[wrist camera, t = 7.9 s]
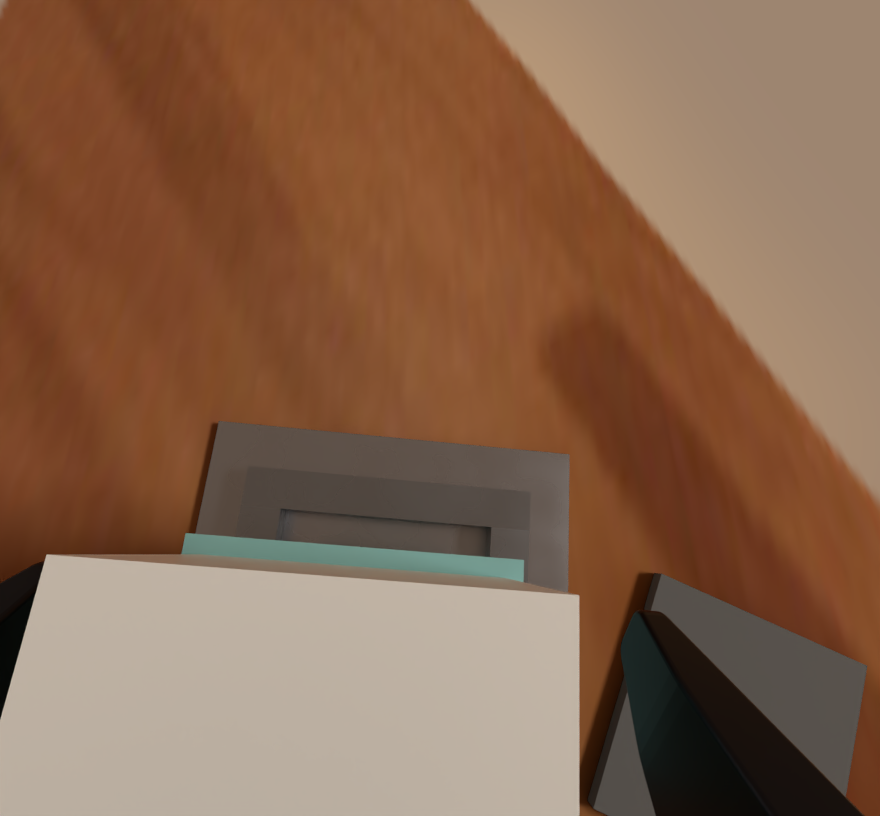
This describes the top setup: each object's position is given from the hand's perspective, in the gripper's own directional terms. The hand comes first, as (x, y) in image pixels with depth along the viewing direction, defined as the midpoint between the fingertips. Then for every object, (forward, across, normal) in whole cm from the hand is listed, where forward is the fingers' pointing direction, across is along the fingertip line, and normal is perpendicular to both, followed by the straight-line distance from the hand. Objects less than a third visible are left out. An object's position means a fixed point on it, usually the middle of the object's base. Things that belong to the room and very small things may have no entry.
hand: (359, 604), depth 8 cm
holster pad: (+4, -11, +9) cm, 15 cm away
